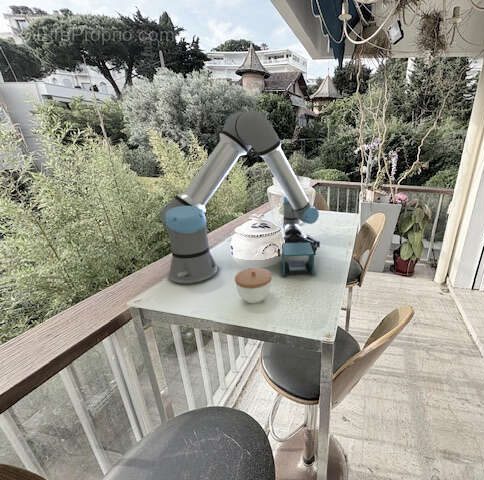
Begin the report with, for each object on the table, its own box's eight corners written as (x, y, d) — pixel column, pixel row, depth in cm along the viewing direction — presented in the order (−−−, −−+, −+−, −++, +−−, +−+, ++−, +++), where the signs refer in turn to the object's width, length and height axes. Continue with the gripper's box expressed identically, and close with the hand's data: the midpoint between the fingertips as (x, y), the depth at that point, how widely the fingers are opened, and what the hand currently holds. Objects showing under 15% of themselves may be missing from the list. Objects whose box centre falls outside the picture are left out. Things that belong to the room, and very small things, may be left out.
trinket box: (252, 312, 75) (250, 284, 72) (229, 298, 81) (226, 271, 78) (279, 296, 83) (278, 270, 80) (256, 285, 89) (255, 259, 86)
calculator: (288, 264, 105) (288, 260, 104) (304, 263, 106) (304, 260, 105) (289, 274, 97) (289, 270, 96) (306, 273, 98) (306, 270, 97)
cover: (282, 263, 105) (281, 243, 102) (309, 261, 107) (310, 242, 104) (283, 276, 95) (282, 255, 92) (313, 275, 97) (314, 254, 94)
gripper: (319, 240, 124) (328, 260, 104) (265, 242, 119) (264, 262, 100) (320, 225, 121) (329, 242, 102) (264, 226, 117) (263, 244, 97)
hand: (297, 252), depth 101 cm, fingers open, 13 cm apart
